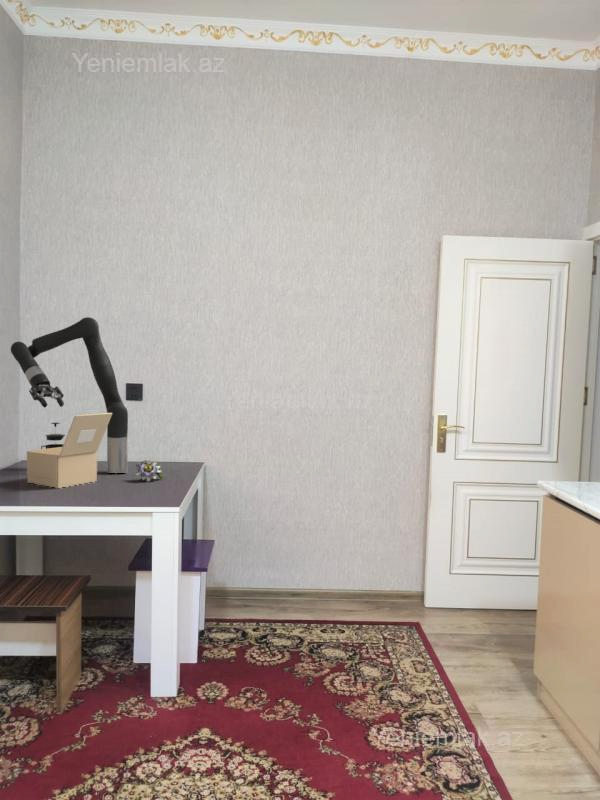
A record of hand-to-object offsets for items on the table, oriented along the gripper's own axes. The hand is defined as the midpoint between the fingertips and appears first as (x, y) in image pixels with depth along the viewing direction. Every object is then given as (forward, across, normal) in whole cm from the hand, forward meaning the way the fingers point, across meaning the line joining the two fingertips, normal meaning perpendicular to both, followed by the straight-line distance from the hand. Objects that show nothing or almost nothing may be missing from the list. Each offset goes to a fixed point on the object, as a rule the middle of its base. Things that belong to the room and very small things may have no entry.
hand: (54, 405), depth 283 cm
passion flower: (+45, +26, +2) cm, 52 cm away
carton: (+27, 0, +20) cm, 34 cm away
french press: (+5, +21, +42) cm, 48 cm away
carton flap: (+22, 0, -7) cm, 23 cm away
